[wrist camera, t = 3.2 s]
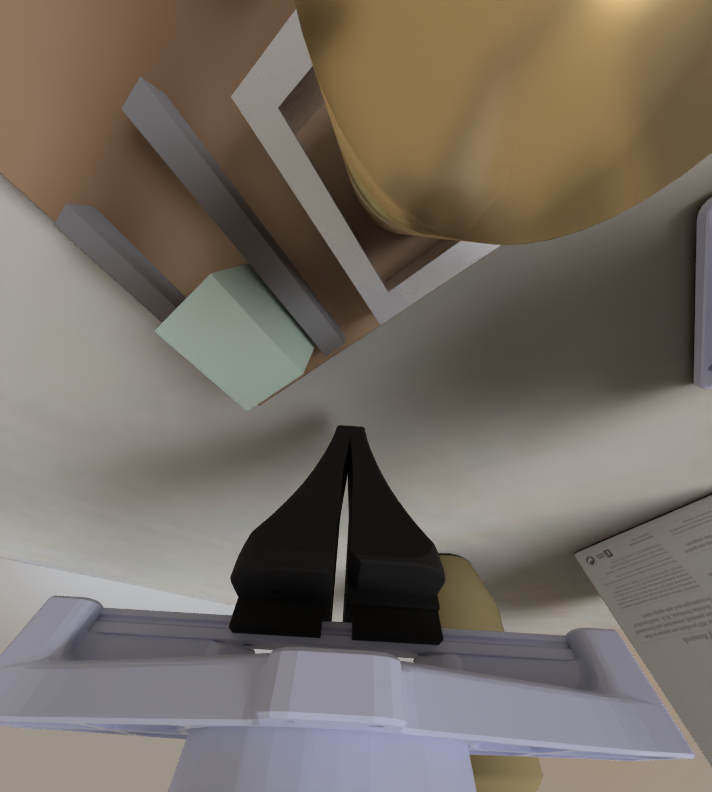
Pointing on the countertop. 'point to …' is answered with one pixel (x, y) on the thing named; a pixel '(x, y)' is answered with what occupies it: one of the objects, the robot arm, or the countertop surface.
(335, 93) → the brass cylinder plug
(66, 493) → the countertop surface
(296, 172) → the steel socket
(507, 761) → the squeeze bottle
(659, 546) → the supplement box
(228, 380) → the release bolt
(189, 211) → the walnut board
